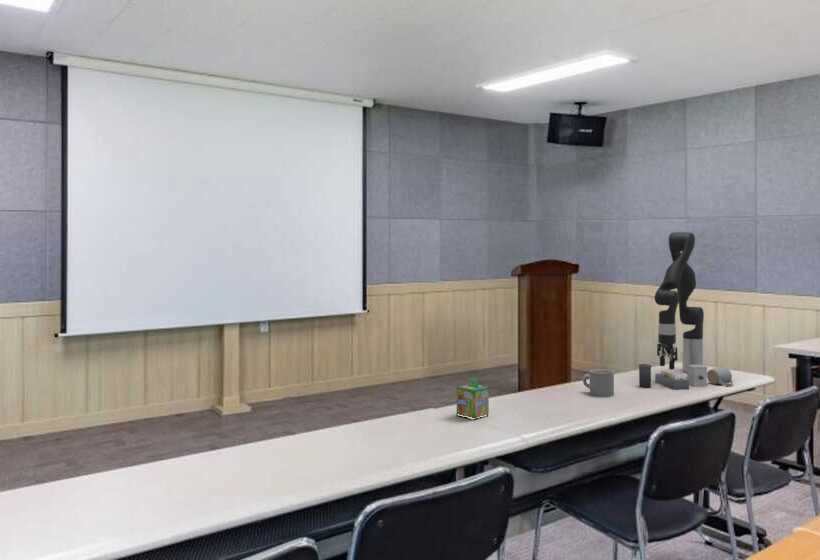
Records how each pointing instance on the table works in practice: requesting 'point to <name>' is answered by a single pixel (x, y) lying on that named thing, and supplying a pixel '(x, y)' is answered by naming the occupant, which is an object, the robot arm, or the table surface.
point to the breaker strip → (671, 380)
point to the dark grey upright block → (645, 375)
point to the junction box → (697, 375)
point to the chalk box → (473, 399)
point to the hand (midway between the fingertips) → (667, 367)
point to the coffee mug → (600, 383)
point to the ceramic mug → (720, 376)
